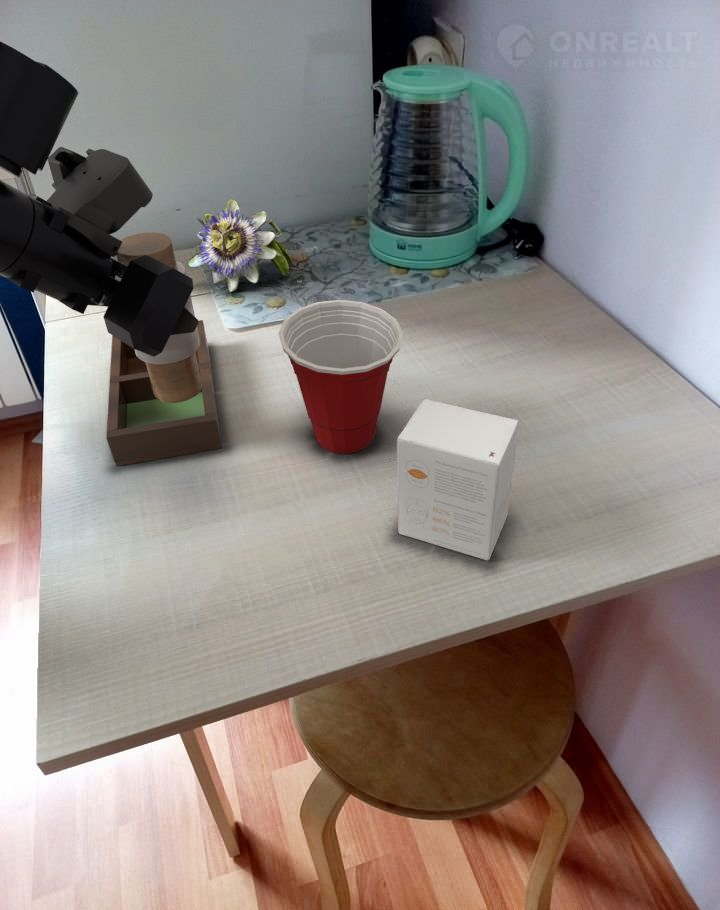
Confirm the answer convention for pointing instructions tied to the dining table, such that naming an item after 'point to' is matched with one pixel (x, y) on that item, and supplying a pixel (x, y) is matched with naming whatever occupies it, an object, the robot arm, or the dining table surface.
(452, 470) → the small box
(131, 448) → the tray
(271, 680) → the dining table surface
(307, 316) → the plastic cup
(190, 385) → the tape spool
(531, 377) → the dining table surface
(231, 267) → the passion flower
